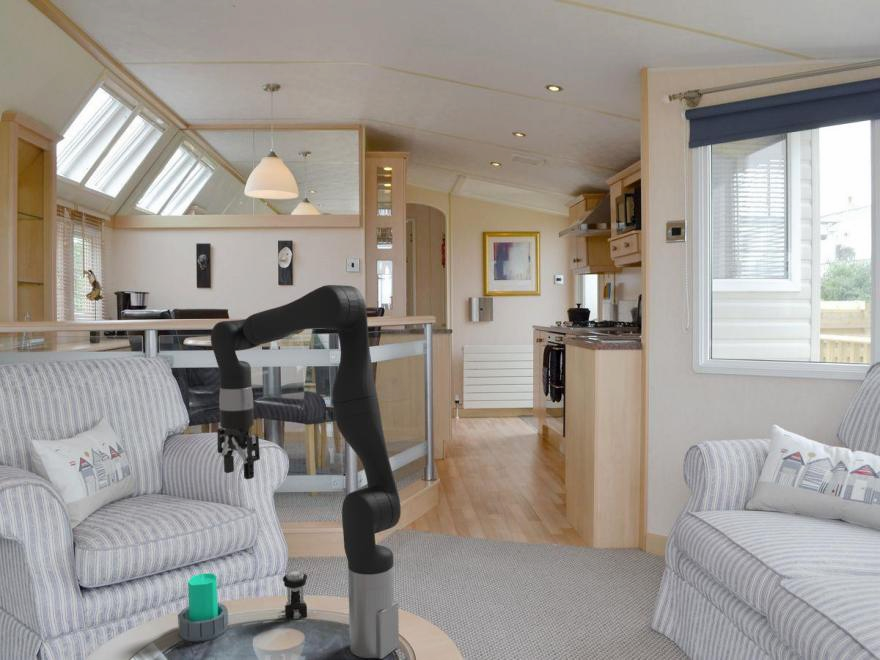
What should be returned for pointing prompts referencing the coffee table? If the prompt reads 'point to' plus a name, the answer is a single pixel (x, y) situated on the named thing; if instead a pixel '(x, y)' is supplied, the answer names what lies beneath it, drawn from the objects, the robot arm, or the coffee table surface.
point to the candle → (202, 597)
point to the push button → (294, 595)
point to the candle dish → (202, 626)
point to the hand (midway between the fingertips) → (238, 475)
